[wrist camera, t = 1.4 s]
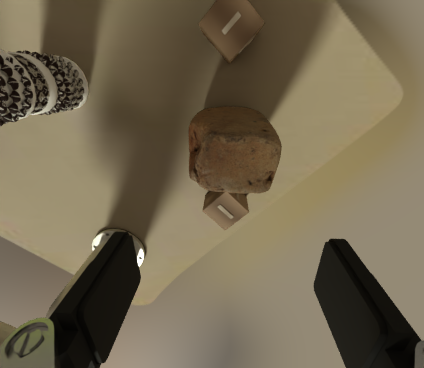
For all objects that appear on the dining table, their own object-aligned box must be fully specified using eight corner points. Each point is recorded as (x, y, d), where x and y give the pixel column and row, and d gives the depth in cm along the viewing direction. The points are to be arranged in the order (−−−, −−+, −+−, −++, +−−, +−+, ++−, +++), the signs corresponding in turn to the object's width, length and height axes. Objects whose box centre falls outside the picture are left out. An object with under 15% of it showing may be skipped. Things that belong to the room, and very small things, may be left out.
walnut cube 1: (225, 213, 47) (225, 231, 42) (205, 195, 46) (202, 211, 40) (247, 196, 45) (250, 212, 40) (226, 176, 44) (226, 190, 38)
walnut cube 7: (230, 65, 35) (230, 62, 30) (202, 32, 33) (197, 23, 28) (260, 32, 33) (266, 22, 27) (232, -5, 31) (233, -22, 26)
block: (261, 107, 38) (293, 133, 20) (254, 149, 41) (276, 205, 23) (198, 102, 38) (172, 124, 20) (196, 144, 41) (173, 196, 23)
